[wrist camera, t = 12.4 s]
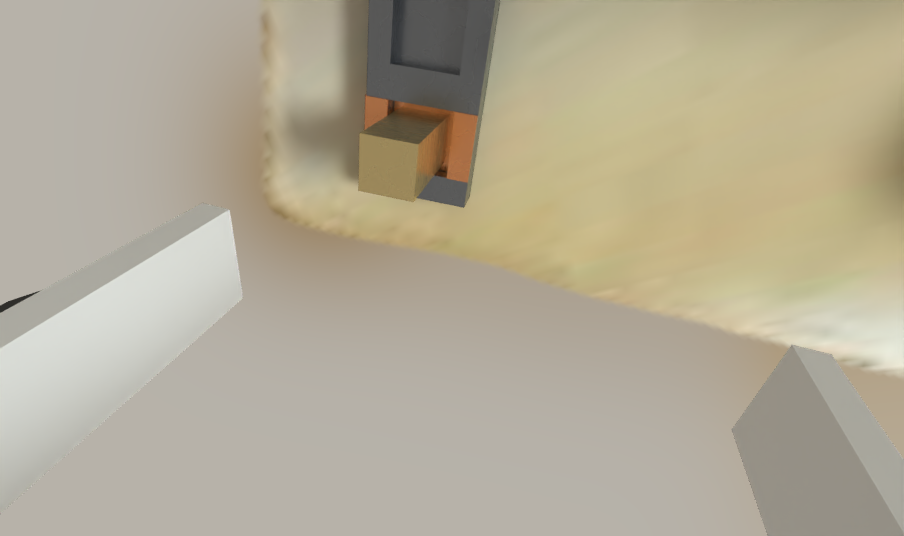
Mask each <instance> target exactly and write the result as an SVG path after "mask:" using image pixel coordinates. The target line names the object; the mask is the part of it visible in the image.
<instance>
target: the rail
mask: <svg viewBox="0 0 904 536" xmlns="http://www.w3.org/2000/svg"><path fill="white" fill-rule="evenodd" d="M499 5H500V0H369V22H368V62H367V94H366V95H365V129H367V128H368V127H370V126H372V125H373V124H375V123H376V122H378V121H380V120H381V119H383V118H384V117H386V116H388V115H389V114H391V113H392V112H394V111H396V110H397V109H399V108H400V107H407V108H413V109H418V110H424V111H429V112H435V113H440V114H446V115H449V123H448V131H447V139H446V148H445V156H444V163H443V165H442V166H441V167H440V168H439V170H438V171H437V172H436V174H435V175H434V176H433V178H432V179H431V180H430V181H429V183H428V184H427V185H426V187H425V188H424V189H423V191H422V192H421V193H420V194H419V196H418V197H417V198H420V199H425V200H430V201H434V202H439V203H444V204H449V205H454V206H459V207H463V208H464V207H465V205H466V203H467V201H468V199H469V196H470V190H471V184H472V177H473V171H474V164H475V158H476V152H477V145H478V139H479V132H480V126H481V120H482V113H483V107H484V100H485V94H486V88H487V81H488V75H489V68H490V62H491V56H492V49H493V43H494V37H495V30H496V24H497V17H498V11H499Z"/></svg>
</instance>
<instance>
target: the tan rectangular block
mask: <svg viewBox="0 0 904 536" xmlns="http://www.w3.org/2000/svg"><path fill="white" fill-rule="evenodd" d="M448 123H449V115H446V114H440V113H435V112H429V111H424V110H418V109H413V108H407V107H400V108H399V109H397V110H396V111H394V112H392V113H391V114H389V115H388V116H386V117H384V118H383V119H381V120H380V121H378V122H376V123H375V124H373V125H372V126H370V127H368V128H367V129H365V130H364V131H362V132H360V133H359V186H358V191H363V192H368V193H372V194H377V195H382V196H387V197H392V198H396V199H401V200H406V201H411V202H414V201H415V200H416V198H417V197H418V196H419V194H420V193H421V192H422V191H423V189H424V188H425V187H426V185H427V184H428V183H429V181H430V180H431V179H432V178H433V176H434V175H435V174H436V172H437V171H438V170H439V168H440V167H441V166H442V165H443V163H444V156H445V148H446V139H447V131H448Z"/></svg>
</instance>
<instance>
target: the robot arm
mask: <svg viewBox="0 0 904 536" xmlns="http://www.w3.org/2000/svg"><path fill="white" fill-rule="evenodd" d="M242 298H243V294H242V288H241V281H240V274H239V268H238V262H237V255H236V248H235V242H234V235H233V229H232V223H231V216H230V210H229V209H226V208H222V207H217V206H213V205H209V204H205V203H201V204H199V205H198V206H195V207H194V208H192V209H190V210H188V211H186V212H184V213H183V214H181V215H179V216H177V217H175V218H174V219H172V220H170V221H168V222H166V223H164V224H162V225H161V226H159V227H157V228H155V229H153V230H152V231H150V232H148V233H146V234H144V235H142V236H140V237H139V238H137V239H135V240H133V241H131V242H129V243H128V244H126V245H124V246H122V247H120V248H119V249H117V250H115V251H113V252H111V253H109V254H108V255H106V256H104V257H102V258H100V259H98V260H96V261H95V262H93V263H91V264H89V265H87V266H85V267H84V268H82V269H80V270H78V271H76V272H75V273H73V274H71V275H69V276H67V277H65V278H64V279H62V280H60V281H58V282H56V283H54V284H53V285H51V286H49V287H47V288H45V289H43V290H41V291H38V292H35V293H32V294H29V295H26V296H23V297H20V298H17V299H14V300H11V301H8V302H6V303H4V304H3V305H1V306H0V514H1V513H2V512H3V511H4V510H5V509H6V508H8V507H9V505H11V504H12V503H13V502H14V501H15V500H17V499H18V498H19V497H20V496H21V495H22V494H23V493H24V492H25V491H27V489H29V488H30V487H31V486H32V485H33V484H34V483H36V482H37V481H38V480H39V479H40V478H41V477H42V476H43V475H45V474H46V473H47V472H48V471H49V470H50V469H51V468H52V467H54V466H55V465H56V464H57V463H58V462H59V461H60V460H61V459H62V458H64V457H65V456H66V455H67V454H68V453H69V452H70V451H72V450H73V449H74V448H75V447H76V446H77V445H78V444H79V443H80V442H82V441H83V440H84V439H85V438H86V437H87V436H88V435H90V434H91V433H92V432H93V431H94V430H95V429H96V428H97V427H99V426H100V425H101V424H102V423H103V422H104V421H105V420H106V419H108V418H109V417H110V416H111V415H112V414H113V413H114V412H115V411H117V409H119V408H120V407H121V406H122V405H123V404H124V403H125V402H127V401H128V400H129V399H130V398H131V397H132V396H133V395H134V394H136V393H137V392H138V391H139V390H140V389H141V388H142V387H143V386H145V384H147V383H148V382H149V381H150V380H151V379H152V378H154V377H155V376H156V375H157V374H158V373H159V372H160V371H161V370H162V369H163V368H165V367H166V366H167V365H168V364H169V363H170V362H171V361H172V360H174V359H175V358H176V357H177V356H178V355H179V354H181V353H182V352H183V351H184V350H185V349H186V348H187V347H188V346H189V345H191V344H192V343H193V342H194V341H195V340H196V339H197V338H199V337H200V336H201V335H202V334H203V333H204V332H205V331H206V330H208V329H209V328H210V327H211V326H212V325H213V324H214V323H215V322H216V321H218V320H219V319H220V318H221V317H222V316H223V315H224V314H225V313H227V312H228V311H229V310H230V309H231V308H232V307H233V306H234V305H235V304H237V303H238V302H239V301H240V300H241V299H242ZM732 432H733V435H734V438H735V441H736V444H737V447H738V450H739V453H740V456H741V459H742V462H743V464H744V467H745V470H746V473H747V476H748V479H749V482H750V485H751V488H752V491H753V494H754V497H755V500H756V503H757V506H758V509H759V512H760V515H761V517H762V520H763V523H764V526H765V529H766V532H767V535H768V536H904V459H903V458H902V456H901V455H900V453H899V452H898V451H897V449H896V448H895V446H894V445H893V443H892V442H891V440H890V439H889V437H888V436H887V434H886V433H885V432H884V430H883V429H882V427H881V426H880V424H879V423H878V421H877V420H876V419H875V417H874V416H873V414H872V413H871V411H870V410H869V408H868V407H867V406H866V404H865V403H864V401H863V400H862V398H861V397H860V395H859V394H858V393H857V391H856V389H855V388H854V387H853V385H852V384H851V382H850V381H849V379H848V378H847V377H846V375H845V374H844V372H843V371H842V369H841V368H840V366H839V365H838V363H837V362H836V360H835V359H834V357H833V356H832V355H831V354H828V353H824V352H819V351H815V350H811V349H807V348H803V347H799V346H795V345H791V347H790V348H789V349H788V351H787V353H786V354H785V355H784V357H783V358H782V359H781V361H780V362H779V364H778V365H777V366H776V368H775V369H774V371H773V372H772V373H771V375H770V376H769V378H768V379H767V381H766V382H765V383H764V385H763V386H762V388H761V389H760V390H759V392H758V393H757V395H756V396H755V398H754V399H753V400H752V402H751V403H750V405H749V406H748V407H747V409H746V410H745V412H744V413H743V414H742V416H741V417H740V419H739V420H738V421H737V423H736V424H735V426H734V427H733V428H732Z"/></svg>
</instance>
